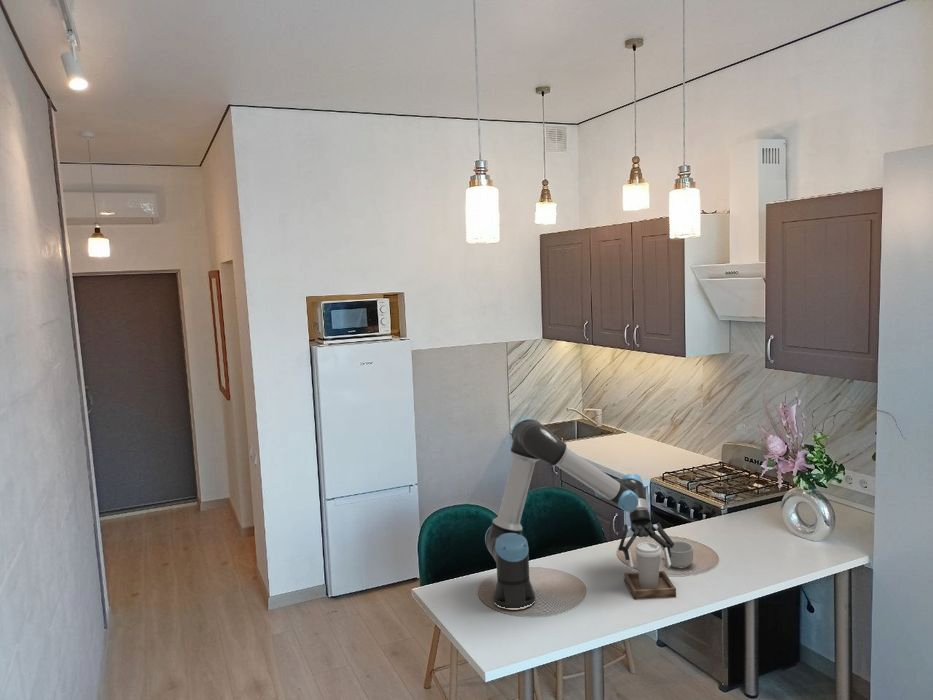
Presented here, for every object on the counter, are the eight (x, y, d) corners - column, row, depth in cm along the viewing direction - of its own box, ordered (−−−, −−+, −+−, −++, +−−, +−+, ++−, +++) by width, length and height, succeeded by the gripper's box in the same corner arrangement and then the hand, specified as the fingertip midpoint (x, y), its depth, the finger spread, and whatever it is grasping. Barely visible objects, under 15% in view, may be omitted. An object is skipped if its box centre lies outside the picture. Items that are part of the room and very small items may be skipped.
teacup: (699, 567, 270) (699, 547, 269) (676, 573, 266) (676, 553, 265) (676, 554, 283) (675, 535, 282) (654, 560, 279) (653, 541, 278)
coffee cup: (663, 592, 249) (662, 552, 247) (636, 591, 251) (635, 551, 249) (661, 580, 258) (660, 541, 257) (635, 579, 260) (634, 541, 259)
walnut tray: (634, 599, 247) (633, 591, 247) (624, 580, 262) (624, 573, 262) (676, 596, 247) (675, 588, 247) (664, 578, 262) (663, 570, 262)
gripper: (669, 515, 267) (682, 569, 254) (605, 519, 268) (614, 572, 254) (673, 506, 262) (687, 561, 248) (607, 510, 262) (617, 565, 248)
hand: (650, 567), depth 251 cm, fingers open, 13 cm apart
